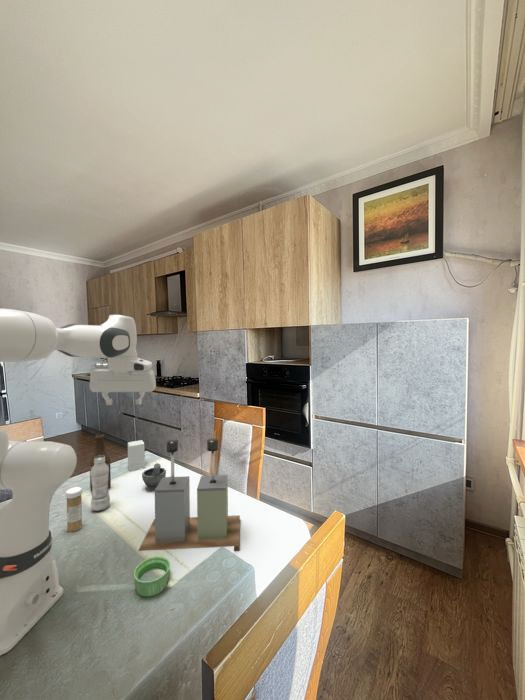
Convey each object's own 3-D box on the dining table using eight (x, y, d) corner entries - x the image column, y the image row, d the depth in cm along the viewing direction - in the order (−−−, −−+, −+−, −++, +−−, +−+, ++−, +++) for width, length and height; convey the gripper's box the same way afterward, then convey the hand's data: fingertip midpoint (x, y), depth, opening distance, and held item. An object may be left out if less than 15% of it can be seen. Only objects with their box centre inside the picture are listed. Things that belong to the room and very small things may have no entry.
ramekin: (134, 576, 80) (134, 561, 80) (169, 567, 84) (169, 552, 83) (132, 604, 72) (132, 586, 72) (171, 592, 75) (171, 575, 75)
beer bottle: (91, 487, 130) (90, 433, 130) (111, 484, 133) (110, 431, 133) (89, 496, 123) (88, 438, 123) (110, 492, 126) (109, 436, 126)
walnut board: (239, 550, 90) (239, 545, 90) (138, 555, 88) (138, 550, 88) (239, 519, 106) (239, 515, 106) (154, 523, 104) (154, 518, 104)
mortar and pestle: (140, 486, 132) (139, 459, 131) (161, 480, 137) (161, 454, 137) (147, 496, 122) (146, 467, 122) (169, 490, 128) (169, 462, 128)
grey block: (184, 540, 93) (184, 489, 92) (155, 542, 92) (154, 490, 92) (189, 523, 102) (189, 476, 101) (163, 524, 101) (162, 477, 101)
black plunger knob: (223, 503, 94) (223, 443, 93) (200, 504, 93) (199, 444, 93) (225, 491, 101) (224, 436, 101) (203, 492, 101) (202, 436, 100)
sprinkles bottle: (69, 525, 103) (69, 487, 103) (84, 523, 104) (83, 485, 104) (64, 533, 99) (63, 493, 99) (79, 531, 100) (79, 492, 100)
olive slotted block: (226, 538, 93) (226, 487, 93) (197, 540, 93) (197, 488, 92) (227, 521, 102) (227, 475, 102) (201, 522, 102) (201, 475, 101)
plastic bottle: (113, 504, 117) (112, 453, 116) (102, 514, 110) (101, 460, 110) (98, 503, 117) (97, 453, 117) (86, 513, 111) (85, 460, 110)
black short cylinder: (182, 504, 93) (181, 444, 93) (158, 505, 93) (157, 445, 92) (186, 492, 100) (186, 437, 100) (164, 493, 100) (163, 437, 100)
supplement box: (145, 468, 150) (144, 443, 150) (129, 471, 147) (128, 446, 146) (143, 463, 157) (142, 439, 156) (127, 466, 153) (127, 442, 153)
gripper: (84, 365, 93) (86, 407, 95) (152, 365, 96) (152, 407, 98) (93, 362, 100) (95, 401, 101) (156, 362, 102) (157, 401, 104)
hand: (124, 404), depth 99 cm, fingers open, 8 cm apart
